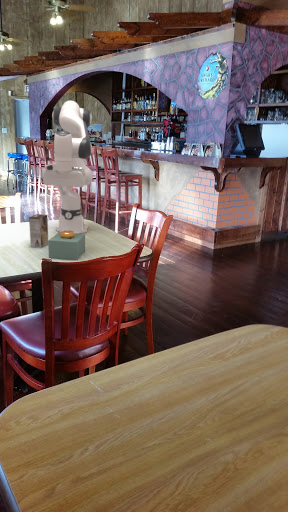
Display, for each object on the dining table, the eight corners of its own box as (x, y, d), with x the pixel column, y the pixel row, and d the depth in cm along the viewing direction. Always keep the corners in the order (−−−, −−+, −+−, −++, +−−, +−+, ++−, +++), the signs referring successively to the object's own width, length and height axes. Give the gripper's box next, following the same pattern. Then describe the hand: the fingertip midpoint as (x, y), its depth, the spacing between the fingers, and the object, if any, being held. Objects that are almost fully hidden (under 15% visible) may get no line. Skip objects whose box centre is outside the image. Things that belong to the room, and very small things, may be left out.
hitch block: (59, 248, 219) (58, 232, 216) (85, 250, 217) (85, 234, 214) (49, 258, 203) (48, 240, 201) (77, 260, 202) (76, 242, 199)
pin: (63, 250, 213) (62, 230, 210) (75, 251, 213) (75, 231, 210) (59, 253, 207) (58, 233, 204) (72, 254, 207) (72, 234, 203)
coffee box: (37, 242, 228) (36, 213, 224) (48, 243, 227) (47, 214, 222) (30, 247, 220) (28, 217, 215) (41, 248, 219) (40, 218, 214)
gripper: (86, 166, 203) (86, 195, 208) (45, 164, 205) (46, 192, 209) (83, 168, 197) (83, 197, 202) (41, 166, 199) (42, 194, 204)
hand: (64, 195), depth 206 cm, fingers closed
